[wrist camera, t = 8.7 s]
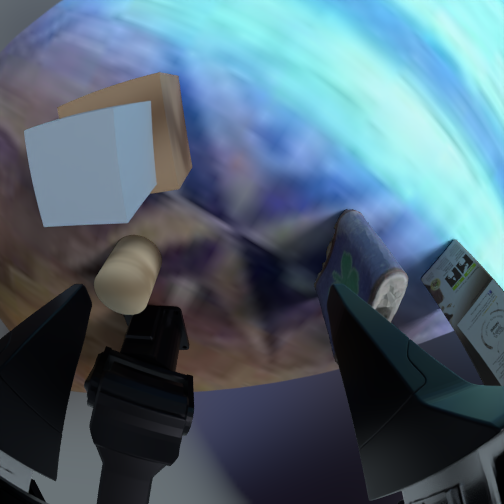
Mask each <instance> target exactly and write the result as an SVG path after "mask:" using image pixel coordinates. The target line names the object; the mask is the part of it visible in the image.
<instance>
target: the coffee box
mask: <svg viewBox="0 0 504 504" xmlns="http://www.w3.org/2000/svg"><path fill="white" fill-rule="evenodd" d="M421 280H422V282H423V284H424V285H425V286H426V288H427V289H428V291H429V292H430V294H431V295H432V297H433V298H434V300H435V301H436V303H437V304H438V306H439V307H440V309H441V310H442V312H443V313H444V315H445V316H446V318H447V319H448V321H449V323H450V324H451V326H452V327H453V329H454V331H455V332H456V334H457V336H458V337H459V339H460V341H461V342H462V344H463V346H464V348H465V350H466V351H467V353H468V355H469V357H470V359H471V360H472V362H473V364H474V366H475V368H476V370H477V372H478V374H479V376H480V378H481V380H482V382H483V384H484V385H486V386H504V291H503V290H502V288H501V287H500V286H499V285H498V284H497V282H496V281H495V280H494V279H493V278H492V277H491V276H490V274H489V273H488V272H487V271H486V270H485V269H484V268H483V267H482V266H481V265H480V264H479V262H478V261H477V260H476V259H475V258H474V257H473V256H472V255H471V254H470V253H469V252H468V251H467V250H466V249H465V248H464V247H463V246H462V245H461V244H460V243H459V242H458V241H457V240H456V239H454V240H453V241H452V243H451V244H450V245H449V246H448V248H447V249H446V250H445V251H444V253H443V254H442V255H441V256H440V257H439V259H438V260H437V261H436V262H435V263H434V264H433V266H432V267H431V268H430V269H429V270H428V271H427V272H426V274H425V275H424V276H423V277H422V279H421Z"/></svg>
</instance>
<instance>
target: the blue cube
mask: <svg viewBox="0 0 504 504" xmlns="http://www.w3.org/2000/svg"><path fill="white" fill-rule="evenodd" d="M24 134H25V142H26V149H27V155H28V161H29V167H30V172H31V177H32V182H33V186H34V191H35V195H36V199H37V203H38V207H39V211H40V214H41V218H42V221H43V225H44V227H53V226H71V225H91V224H115V223H128V222H129V221H130V219H131V218H132V216H133V215H134V214H135V212H136V211H137V210H138V208H139V207H140V206H141V204H142V203H143V202H144V200H145V199H146V198H147V196H148V195H149V194H150V192H151V191H152V190H153V189H154V187H155V186H156V185H157V182H156V172H155V161H154V148H153V134H152V115H151V101H144V102H137V103H130V104H124V105H118V106H112V107H107V108H102V109H97V110H92V111H88V112H83V113H79V114H75V115H71V116H67V117H64V118H61V119H57V120H54V121H51V122H47V123H44V124H41V125H38V126H35V127H33V128H30V129H27V130H24Z"/></svg>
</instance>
